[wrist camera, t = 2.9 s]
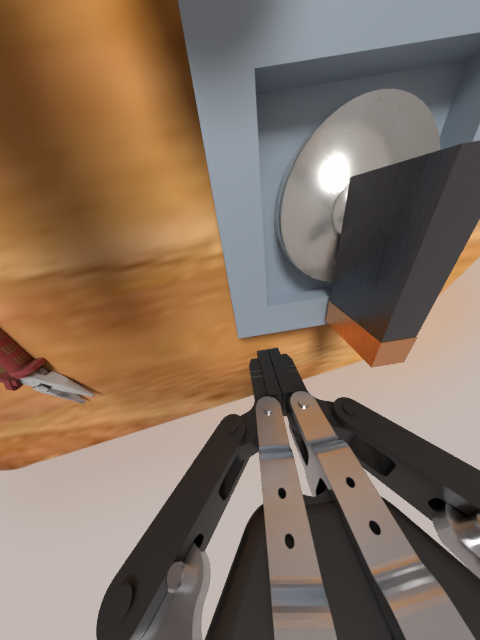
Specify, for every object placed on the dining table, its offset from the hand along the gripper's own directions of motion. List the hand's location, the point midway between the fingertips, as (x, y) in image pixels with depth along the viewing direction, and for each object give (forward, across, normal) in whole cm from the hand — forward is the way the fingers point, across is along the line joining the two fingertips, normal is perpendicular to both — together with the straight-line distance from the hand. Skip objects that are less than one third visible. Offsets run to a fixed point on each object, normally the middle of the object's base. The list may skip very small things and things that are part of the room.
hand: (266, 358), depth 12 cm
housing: (+9, -9, -8) cm, 15 cm away
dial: (+9, -9, -6) cm, 14 cm away
